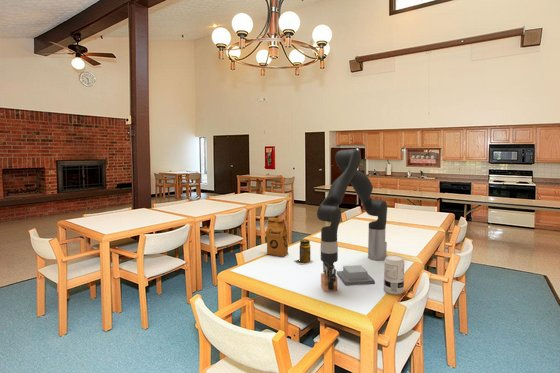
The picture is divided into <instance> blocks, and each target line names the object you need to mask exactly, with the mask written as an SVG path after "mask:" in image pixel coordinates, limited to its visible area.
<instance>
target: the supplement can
mask: <svg viewBox="0 0 560 373" xmlns="http://www.w3.org/2000/svg"><path fill="white" fill-rule="evenodd" d="M383 260H384V261H383V290H384V291H385V293H387V294H389V295H393V296H394V295H395V296H396V295H401V294H403V293H404V291H405V290H404V289H405V260H404V258H403V257H402V256H399V255H391V254H390V255H386V259H383Z"/></svg>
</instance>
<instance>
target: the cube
mask: <svg viewBox="0 0 560 373" xmlns="http://www.w3.org/2000/svg"><path fill="white" fill-rule="evenodd" d="M329 274H330V273H329ZM338 278H339V277H338V275H336V281H335V282H334V289H333V290H329V289H328V276H327V274H326V273H324V272H321V273H320V287H321V288H322V290H323V292H337V291H338V288H339V287H338V285H339V284H338V282H339V279H338ZM331 279H333V278H332V277H331Z"/></svg>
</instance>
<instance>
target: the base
mask: <svg viewBox="0 0 560 373" xmlns="http://www.w3.org/2000/svg"><path fill="white" fill-rule="evenodd" d="M342 266H343V267H342V270H336V276H337V278H339V279H340V280H341V282H342V283H343V284H344V286H357V285H361V286H362V285H375V283H376V282H375V280H374V278H373V277H372V276H371V275H370V274H369V272H368V270H366V268H365V267H363V265H361V264H358V265H357V264H356V265H342Z"/></svg>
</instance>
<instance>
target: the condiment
mask: <svg viewBox="0 0 560 373" xmlns="http://www.w3.org/2000/svg"><path fill="white" fill-rule="evenodd" d="M299 260H300V261H299ZM294 262H295V263H297V264H298V265H301V266H302V265H306V264H311V263H314V261H313V260H311V244H310V240H309V239H304V238H303V239H300V241H299V259H296V260H294Z"/></svg>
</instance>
